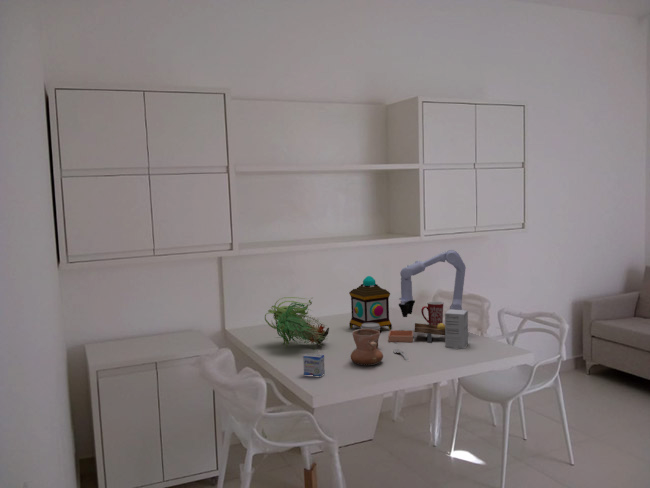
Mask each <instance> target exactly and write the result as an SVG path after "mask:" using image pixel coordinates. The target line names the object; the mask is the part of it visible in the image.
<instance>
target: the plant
mask: <svg viewBox="0 0 650 488" xmlns="http://www.w3.org/2000/svg"><path fill="white" fill-rule="evenodd" d="M283 299H299V300H300V299H301V300H306V297H305V298H303V297H299V296H298V297H296V296H289V297H287V296H286V297H281V298H279V299H277V301H276V302H275V303H274V305H271V307H270V308H271V309H268V310H267V312H266V313H265V314H264V320H265V322H266V323H267V325H268V326H269V327H270V328H272V329H274V330H276V332H277V333H276V334H278V336H279V337H278V336H277V337H275V338H277V339H279V338H280V339H283V343H282V345H283V346H285V347H284V348H285V349H287V347H288V345H289V344H290V342H292V341H294V342H295V343H296V345H299V344H300V345H302V343H303V344H304V345H308V347H310V349H312V350H313V349H314V350H316V349H317V346H318V345H319V347H320V346H322V347H323V345H322V343H324V342H325V340H326V341H327V337H328V334H329V331H330V327H327V326H328V324H326V325H325V323H322V322H320V320H318V318H316V317H315V316H312V315H311V314H309V311H312V312H313V310H311V309H310V308H309V306H311V305H312V303H313V302H312V301H311V299H313V297H311V298H309V300H308V302H298V301H295V300H284V301H282V302H280V303H279V304H278V302H279V301H281V300H283ZM285 303H290V304H289V305H283V304H285ZM277 304H278V305H277ZM276 305H277V306H276ZM281 305H282V306H281ZM268 314H273V315H272V316H273V317H272V319H273V320H275V321H274V322H275V324H274V323H273V321H271V323H269V321H268V320H267V318H266V316H267V315H268ZM306 318H307V319H306ZM317 323H319V324H317ZM325 327H326V329H325ZM324 329H325V330H324ZM297 339H298V341H300V342H297ZM315 344H316V346H315ZM316 351H317V352H319V351H318V350H316Z"/></svg>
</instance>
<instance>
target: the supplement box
mask: <svg viewBox="0 0 650 488" xmlns="http://www.w3.org/2000/svg"><path fill="white" fill-rule="evenodd" d="M468 312H469V311H468V310H466V309H465V310H464V309H462V310H453V309H450V308H449V309H448V310H447V311H446V312H445V313H444V325H445V336H444V337H445V338H444V343H445V348H452V349H454V348H455V349H463V350H464V349H465V348H466V347H467V346H468V345H469V327H468V326H469V316H468V315H469V313H468Z"/></svg>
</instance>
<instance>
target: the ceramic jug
mask: <svg viewBox="0 0 650 488" xmlns="http://www.w3.org/2000/svg"><path fill="white" fill-rule="evenodd" d="M380 335H381V332H380V330H379V331H377V330H374V329H361V328H358V329H354V330H353V331H352V338H353V341H354V344H355V346H356V349H354V350H353V351H352V352H351V353H350V360H351V361H352V362H353V363H354V364H356V365H360V366H373V365H376V364H379V363H380V362H381V361H382V360H383V358H384V354H383V352H382V351H381V350H380V349H379V348H378V349H377V348H376V345H377V343H378V344H379V339H380Z"/></svg>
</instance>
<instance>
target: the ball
mask: <svg viewBox="0 0 650 488" xmlns="http://www.w3.org/2000/svg"><path fill="white" fill-rule="evenodd" d="M437 328H438V329H440V330H445V323H440V324H438V326H437Z"/></svg>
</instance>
